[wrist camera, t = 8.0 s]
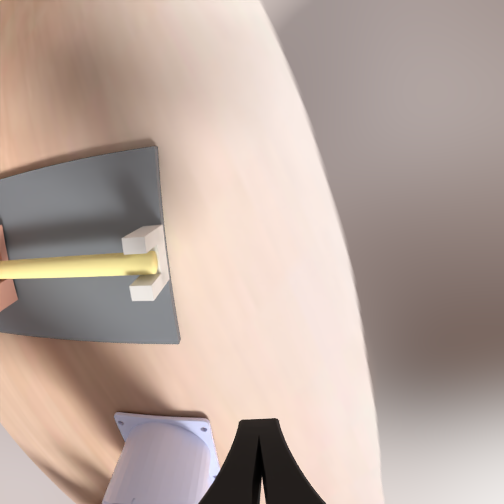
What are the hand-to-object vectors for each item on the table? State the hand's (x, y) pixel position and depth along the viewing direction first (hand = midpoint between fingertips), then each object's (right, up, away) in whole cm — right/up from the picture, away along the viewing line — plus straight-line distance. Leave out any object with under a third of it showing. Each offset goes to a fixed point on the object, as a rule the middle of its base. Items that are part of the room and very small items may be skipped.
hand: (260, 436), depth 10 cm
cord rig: (-17, +6, +8) cm, 20 cm away
